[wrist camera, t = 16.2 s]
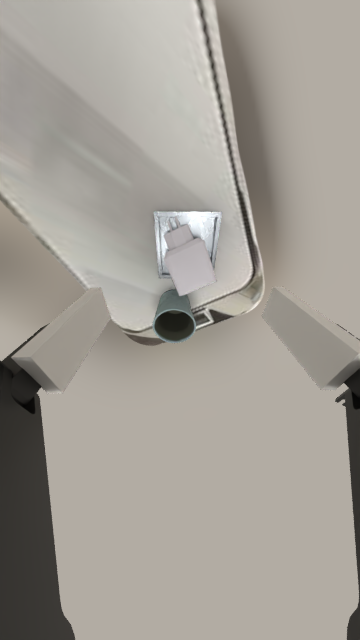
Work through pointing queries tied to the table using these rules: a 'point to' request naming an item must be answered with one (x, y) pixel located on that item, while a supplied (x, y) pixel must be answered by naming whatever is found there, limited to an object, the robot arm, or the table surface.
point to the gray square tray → (200, 226)
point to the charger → (187, 260)
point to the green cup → (174, 318)
